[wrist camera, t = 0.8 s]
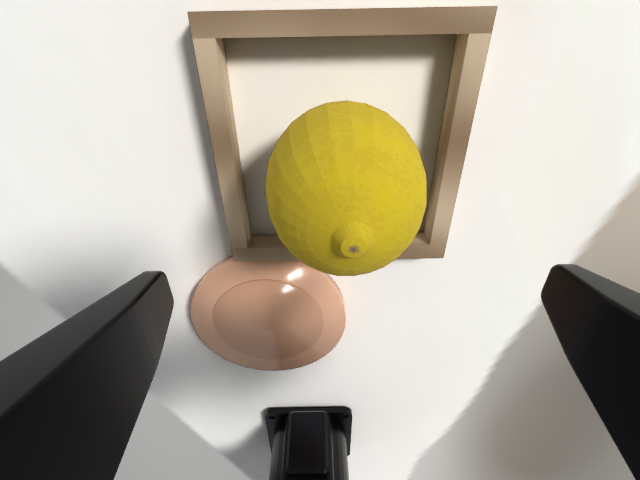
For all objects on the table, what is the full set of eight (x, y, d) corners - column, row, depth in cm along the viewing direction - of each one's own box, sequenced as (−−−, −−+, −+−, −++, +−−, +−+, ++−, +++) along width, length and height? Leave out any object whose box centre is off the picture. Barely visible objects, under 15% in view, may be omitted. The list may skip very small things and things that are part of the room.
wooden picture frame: (436, 244, 19) (443, 258, 18) (237, 248, 19) (233, 261, 18) (483, 6, 13) (497, 6, 12) (197, 11, 13) (187, 11, 12)
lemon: (259, 175, 17) (220, 286, 10) (309, 57, 14) (302, 100, 7) (360, 220, 18) (387, 344, 11) (424, 120, 15) (508, 205, 9)
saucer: (342, 359, 24) (343, 371, 23) (209, 361, 24) (206, 373, 23) (346, 249, 19) (347, 259, 18) (178, 252, 19) (172, 262, 18)
